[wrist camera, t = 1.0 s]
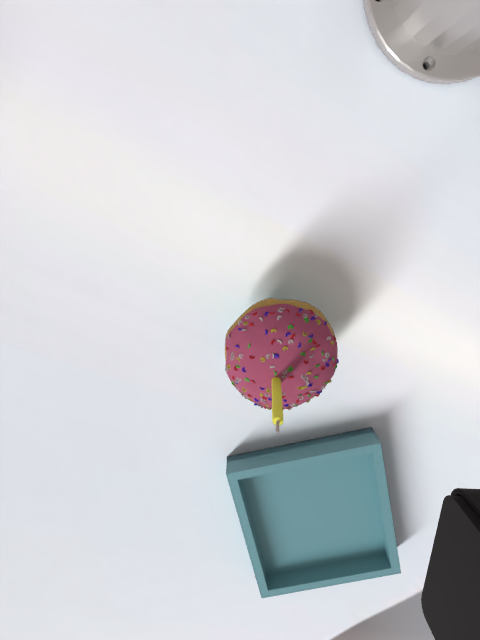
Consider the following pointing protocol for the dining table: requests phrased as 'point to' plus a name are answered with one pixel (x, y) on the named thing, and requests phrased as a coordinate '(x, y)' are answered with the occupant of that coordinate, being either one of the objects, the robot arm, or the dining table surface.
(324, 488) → the tray
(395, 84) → the dining table surface
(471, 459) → the dining table surface
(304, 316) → the cupcake
